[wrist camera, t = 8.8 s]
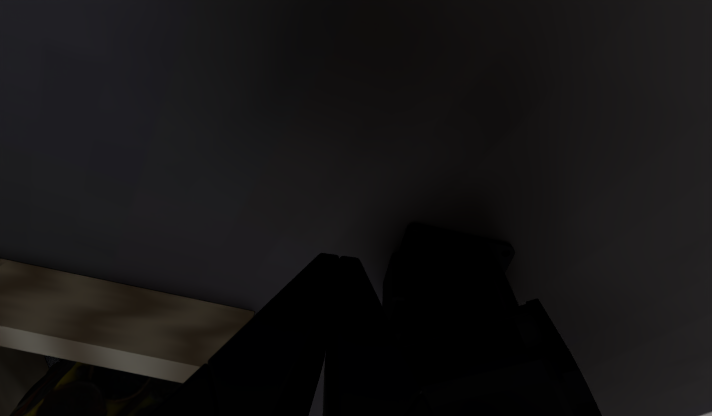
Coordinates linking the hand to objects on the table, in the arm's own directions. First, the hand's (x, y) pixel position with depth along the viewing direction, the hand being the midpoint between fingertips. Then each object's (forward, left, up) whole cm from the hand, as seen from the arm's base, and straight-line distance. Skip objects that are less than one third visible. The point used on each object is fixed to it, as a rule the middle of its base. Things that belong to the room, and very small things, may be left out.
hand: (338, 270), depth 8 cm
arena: (+15, +26, -12) cm, 32 cm away
